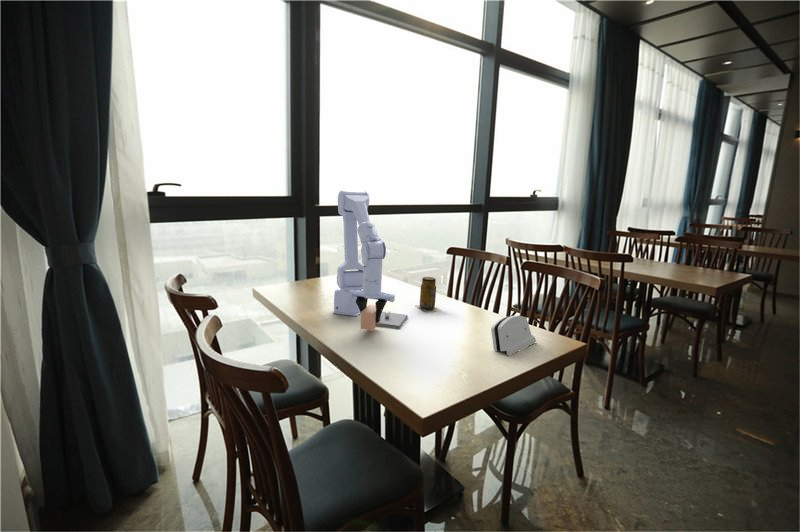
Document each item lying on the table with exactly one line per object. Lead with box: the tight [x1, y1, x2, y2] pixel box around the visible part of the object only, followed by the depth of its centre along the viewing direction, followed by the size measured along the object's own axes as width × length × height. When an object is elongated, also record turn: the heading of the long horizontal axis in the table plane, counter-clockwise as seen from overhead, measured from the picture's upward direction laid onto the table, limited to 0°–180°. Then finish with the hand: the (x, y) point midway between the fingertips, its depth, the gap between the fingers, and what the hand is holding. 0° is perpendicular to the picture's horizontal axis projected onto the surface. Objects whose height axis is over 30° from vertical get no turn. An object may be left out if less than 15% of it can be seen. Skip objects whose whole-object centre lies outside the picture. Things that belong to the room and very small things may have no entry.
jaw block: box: [360, 304, 381, 332], centre depth 121 cm, size 4×8×6 cm, turn 166°
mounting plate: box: [375, 311, 408, 330], centre depth 133 cm, size 12×12×1 cm
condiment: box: [415, 276, 441, 313], centre depth 149 cm, size 7×8×12 cm
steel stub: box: [384, 310, 391, 319], centre depth 133 cm, size 2×2×2 cm
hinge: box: [490, 315, 537, 356], centre depth 116 cm, size 17×5×10 cm, turn 133°
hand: (370, 320), depth 122 cm, fingers closed on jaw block, 4 cm apart
